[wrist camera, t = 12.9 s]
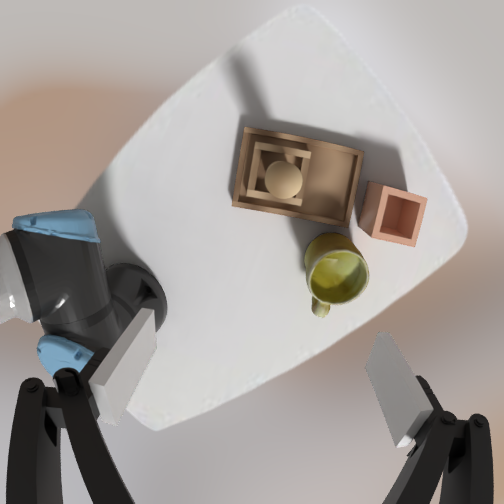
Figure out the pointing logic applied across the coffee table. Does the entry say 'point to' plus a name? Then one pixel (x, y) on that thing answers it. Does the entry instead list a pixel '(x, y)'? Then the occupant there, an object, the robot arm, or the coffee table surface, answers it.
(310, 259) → the mug
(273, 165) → the dowel
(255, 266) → the coffee table surface
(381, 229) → the pink hollow box
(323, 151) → the tray
